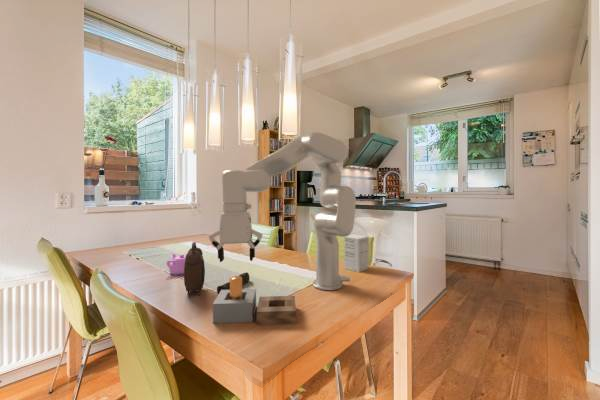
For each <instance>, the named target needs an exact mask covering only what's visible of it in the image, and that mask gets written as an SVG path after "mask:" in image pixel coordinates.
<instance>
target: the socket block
mask: <svg viewBox="0 0 600 400" xmlns="http://www.w3.org/2000/svg"><path fill="white" fill-rule="evenodd" d="M256 307H257V289H256V288H242V300H230V290H221V291H220V293H219V295H218V294H217V296H216V297H215V300H214V301H213V303H212V323H213V324H222V323H223V324H225V323H230V324H231V323H253V321H254V316H255V313H256V309H257V308H256Z"/></svg>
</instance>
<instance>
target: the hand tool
mask: <svg viewBox="0 0 600 400" xmlns="http://www.w3.org/2000/svg"><path fill="white" fill-rule="evenodd" d="M238 276H241V277H242V286H246V284H248V283H249V282H250V273H248V272H243V273H240V274H239V275H238ZM221 290H230V281H229V282H226V283H224V284H222V285H218V286H217V287H216V293H217V296H218V295H219V293H220V291H221Z"/></svg>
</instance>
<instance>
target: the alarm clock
mask: <svg viewBox="0 0 600 400" xmlns="http://www.w3.org/2000/svg"><path fill="white" fill-rule="evenodd" d="M185 256H186V257H185V264H184V275H183V284H184V287H185V291H186V292H187V296H190V292H197V296H200V293H201V292H200V291H202V289H203V288H204V284H205V276H206V269H205V259H204V256H203V250H202V249H201V248H199V247H197V242H195V241H192V244H191V248H189V250H187V253H186V255H185Z"/></svg>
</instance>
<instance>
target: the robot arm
mask: <svg viewBox="0 0 600 400" xmlns="http://www.w3.org/2000/svg"><path fill="white" fill-rule="evenodd" d="M348 150H349V149H348V147H347V145H346V143H344V141H342V140H340V139H337V138H335V137H332V136H330V135H328V134H325V133H323V132H317V131H314V132H310V133H306V134H301V135H299V136H297V137H295V138H294V139H292V140H291V141H289V142H288V143H286V144H285V145H283V146H281V148H278V149H277V150H276V151H274V152H272V153H270V154H269V155H267V156H265V157H263V158H261V159H259V160H257V161H256V162H254V163H252V164H251V165H249V166H248V167H246V168H244V169H242V170H240V169H239V170H235V169H234V170H224V171H223V172H222V173H221V174H222V175H221V176H222V177H221V178H222V180H221V181H222V183H221V184H222V209H223V210H222V211H223V212H221V214H220V220H219V230H217V231H216V232H214V233H212V234H209V236H208V239H209V240H210V242H211V244H212V246H214V247H215V248H216V250H217V259H219V262H220V263H222V262H223V261H224V259H225V252H224V251H225V249H224V245H225V244H227V245H229V244H233V245H234V244H247V245H248V246H249V247H250V248H249V261H251V262H253V259H254V258H255V257H256V254H255V253H256V252H255V251H256V249H255V247H257V246H258V245H259V244H260V242H261V240H262V237H263V236H264V235H263V233H261V232H259V231H257V230H255V229H253V228H252V218H251V213H250V211H248V210H249V209H252V204H249V203H247V197H248V196H247V193H262V192H263V193H264V192H265V191H267V190H268V189H269V188H270V186H271V184H272V180H271V177H274V176H278V175H282V174H284V173H287V172H289V171H291V170H293V168H295V167H296V166H297V165H299V164H300V163H301V162H303V161H304V160H305V159H306V158H310V157H311V159H312V161H313V162H314V163H315V164H316V166H317V168H318V170H319V172H320V176H321V177H320V189H319V203H320V205H321V206H322V207H324V208H326V209H334V210H335V209H336V211H328V210H327V211H325V210H324V211H320V212H318V213H317V214H316V215H315V217H314V218H313V219H314V221H313V226H314V232H315V241H316V242H315V243H316V245H315V247H316V248H315V249H316V252H315V253H316V254H315V255H316V257H315V259H316V264H315V265H316V269H315V270H316V275H315V276H316V277H315V278H316V279H314V281H312V287H314V288H315V289H318V290H321V291H322V290H323V291H335V290H340V289H341V288H342V287H343V282H350V281H351V277H350V276H346V275H340V265H339V264H340V262H339V261H340V257H339V256H340V245H339V244H340V243H339V240H338V237H342V238H344V237H345V236H350V235H351V233H352V231H353V229H354V226H355V217H356V216H355V214H356V205H357V203H356V202H357V199H356V198H357V197H356V193H355V191H354V189H353V188H352V187H350V186H348V185H342V172H341V169H340V167H339V166H338V165H337V164H339V163H342V162H344V161H345V160H346V158H347V157H348V156H349V155H348V154H349V153H348V152H349V151H348ZM218 236H219V237H218ZM253 236H255V237H257V238H256V239H255V241H253V240H252V239H253ZM217 237H218V238H219V241H217V240H216V238H217Z"/></svg>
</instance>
